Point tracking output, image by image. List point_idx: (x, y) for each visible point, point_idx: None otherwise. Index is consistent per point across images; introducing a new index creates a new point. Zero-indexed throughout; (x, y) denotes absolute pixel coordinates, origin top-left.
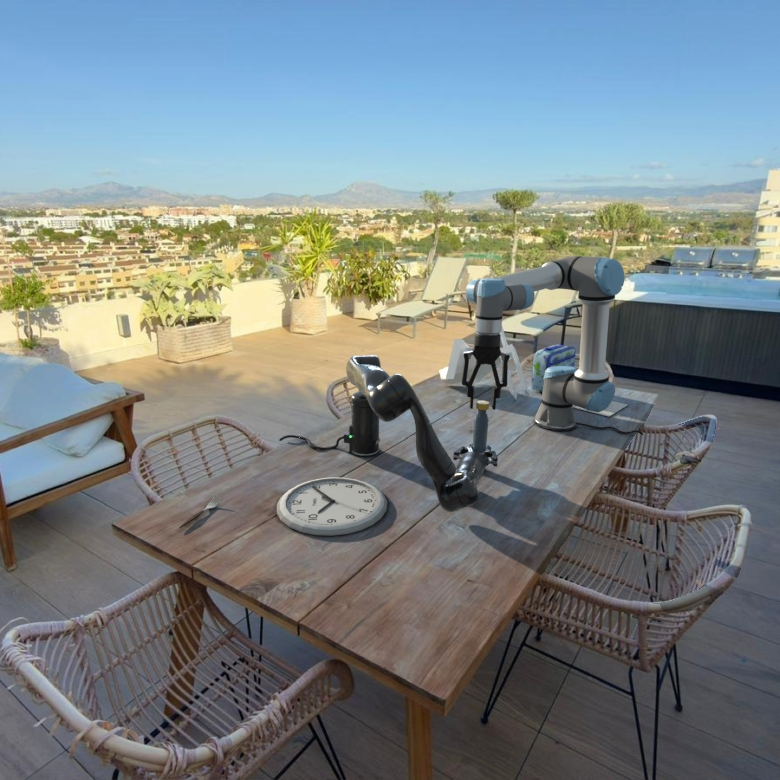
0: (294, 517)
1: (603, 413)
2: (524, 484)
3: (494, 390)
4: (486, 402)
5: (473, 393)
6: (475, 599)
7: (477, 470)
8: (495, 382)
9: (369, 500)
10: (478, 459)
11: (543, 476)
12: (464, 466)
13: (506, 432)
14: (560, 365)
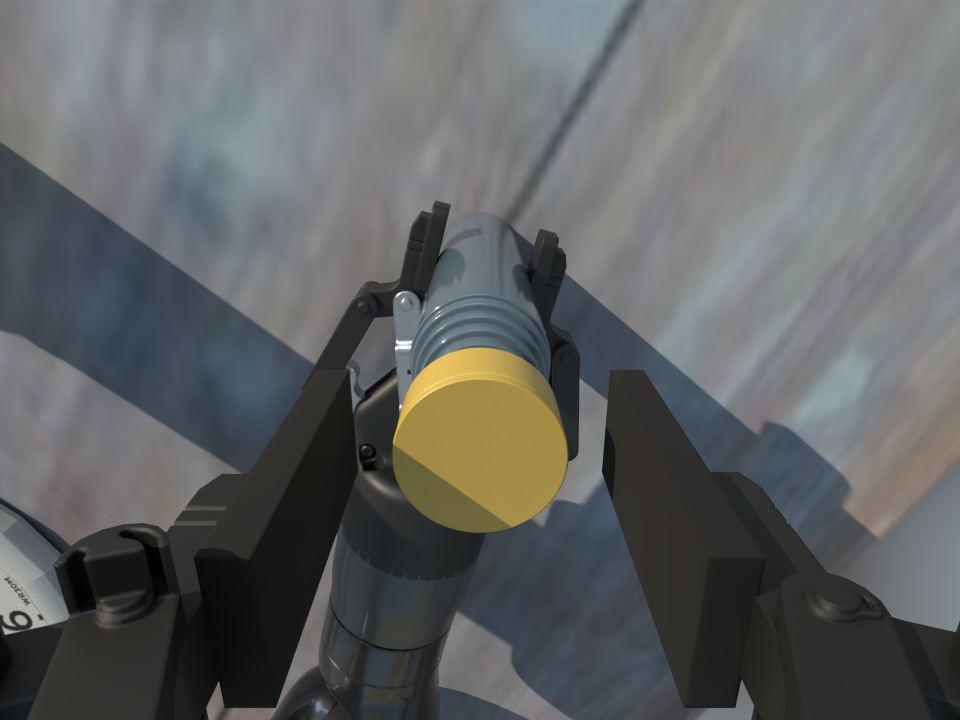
0: None
1: None
2: (698, 390)
3: (678, 684)
4: (533, 458)
5: (300, 624)
6: None
7: (439, 637)
8: (786, 681)
9: (19, 619)
10: (448, 573)
11: (831, 292)
12: (366, 666)
13: None
14: None
